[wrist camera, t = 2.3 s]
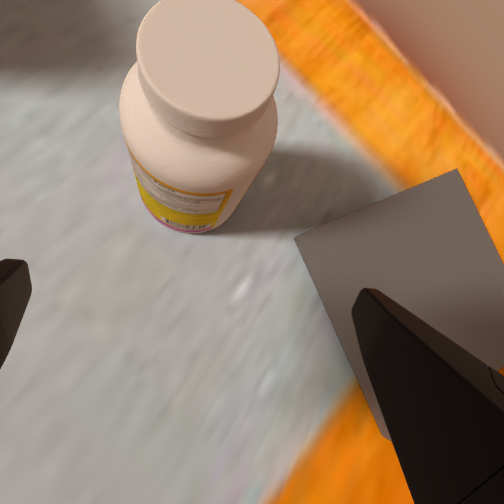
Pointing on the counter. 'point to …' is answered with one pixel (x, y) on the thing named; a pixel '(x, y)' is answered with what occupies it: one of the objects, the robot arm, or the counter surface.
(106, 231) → the counter surface
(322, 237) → the charcoal mat
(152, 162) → the supplement bottle
